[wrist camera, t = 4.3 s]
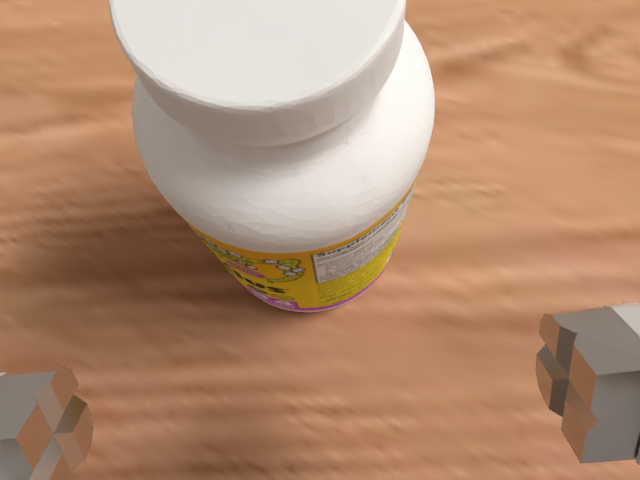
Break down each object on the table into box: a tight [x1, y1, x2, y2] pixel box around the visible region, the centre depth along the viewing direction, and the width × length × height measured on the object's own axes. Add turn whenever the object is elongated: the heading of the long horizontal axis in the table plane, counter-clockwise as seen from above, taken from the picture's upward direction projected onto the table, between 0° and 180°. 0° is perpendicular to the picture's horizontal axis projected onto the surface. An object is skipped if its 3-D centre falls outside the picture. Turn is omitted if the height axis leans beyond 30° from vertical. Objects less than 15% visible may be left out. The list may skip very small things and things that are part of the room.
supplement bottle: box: [109, 0, 435, 312], centre depth 14 cm, size 7×7×13 cm
